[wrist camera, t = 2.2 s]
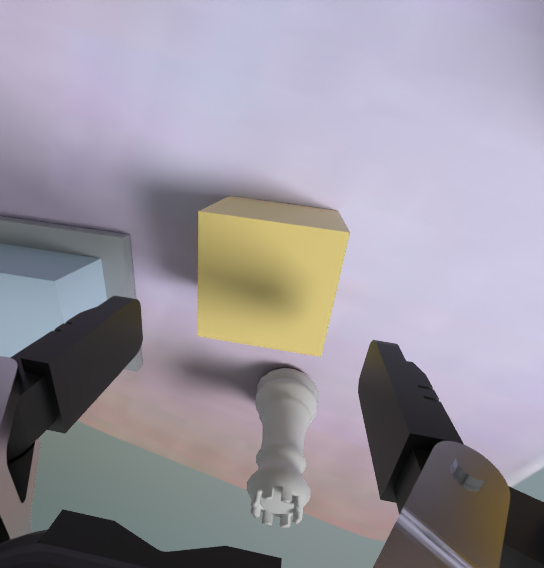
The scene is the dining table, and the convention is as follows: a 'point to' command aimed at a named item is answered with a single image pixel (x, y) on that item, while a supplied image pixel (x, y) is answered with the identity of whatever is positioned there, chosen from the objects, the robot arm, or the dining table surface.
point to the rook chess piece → (282, 445)
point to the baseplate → (81, 245)
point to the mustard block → (268, 273)
